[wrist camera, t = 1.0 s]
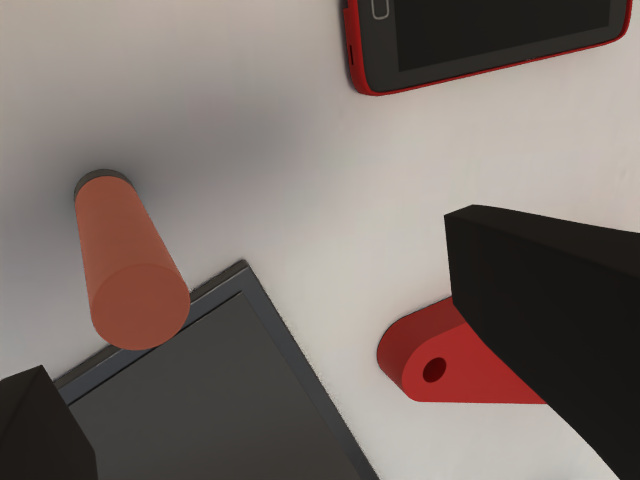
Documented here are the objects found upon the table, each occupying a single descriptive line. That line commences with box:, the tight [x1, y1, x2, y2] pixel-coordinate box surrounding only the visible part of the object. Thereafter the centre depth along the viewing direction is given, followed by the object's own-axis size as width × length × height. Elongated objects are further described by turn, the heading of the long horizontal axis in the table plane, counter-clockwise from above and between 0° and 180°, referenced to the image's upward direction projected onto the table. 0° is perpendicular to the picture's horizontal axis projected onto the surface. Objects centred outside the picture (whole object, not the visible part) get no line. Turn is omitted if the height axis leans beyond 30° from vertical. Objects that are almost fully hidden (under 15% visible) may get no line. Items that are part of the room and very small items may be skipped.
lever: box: [377, 297, 547, 404], centre depth 28 cm, size 18×9×7 cm, turn 87°
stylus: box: [74, 169, 190, 350], centre depth 15 cm, size 2×2×9 cm
